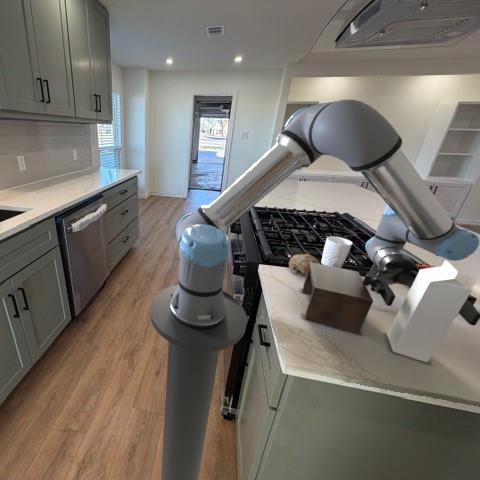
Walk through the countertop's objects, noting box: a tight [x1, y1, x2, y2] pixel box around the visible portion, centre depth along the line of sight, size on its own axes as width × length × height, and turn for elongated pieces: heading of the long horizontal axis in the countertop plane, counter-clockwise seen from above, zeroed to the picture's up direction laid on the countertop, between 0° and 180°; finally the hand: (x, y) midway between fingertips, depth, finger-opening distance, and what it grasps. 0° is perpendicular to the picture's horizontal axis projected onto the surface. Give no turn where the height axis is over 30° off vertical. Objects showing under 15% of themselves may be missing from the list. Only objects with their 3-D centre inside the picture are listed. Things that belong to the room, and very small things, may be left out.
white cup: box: [320, 236, 353, 268], centre depth 94 cm, size 8×8×10 cm
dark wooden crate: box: [301, 262, 374, 335], centre depth 69 cm, size 12×15×10 cm
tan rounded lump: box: [288, 253, 321, 277], centre depth 90 cm, size 10×10×8 cm
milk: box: [386, 259, 472, 363], centre depth 54 cm, size 6×6×22 cm
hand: (431, 310), depth 53 cm, fingers open, 13 cm apart
